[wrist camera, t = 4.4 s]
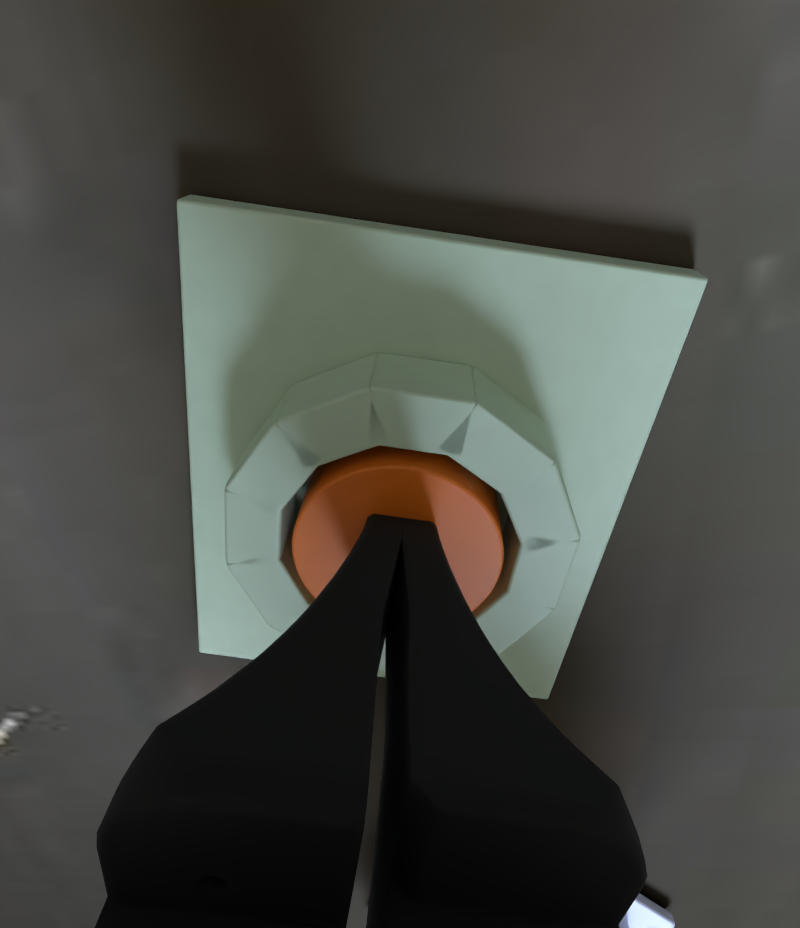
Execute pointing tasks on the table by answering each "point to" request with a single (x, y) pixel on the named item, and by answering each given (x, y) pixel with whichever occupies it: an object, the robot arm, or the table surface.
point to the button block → (414, 400)
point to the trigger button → (400, 514)
